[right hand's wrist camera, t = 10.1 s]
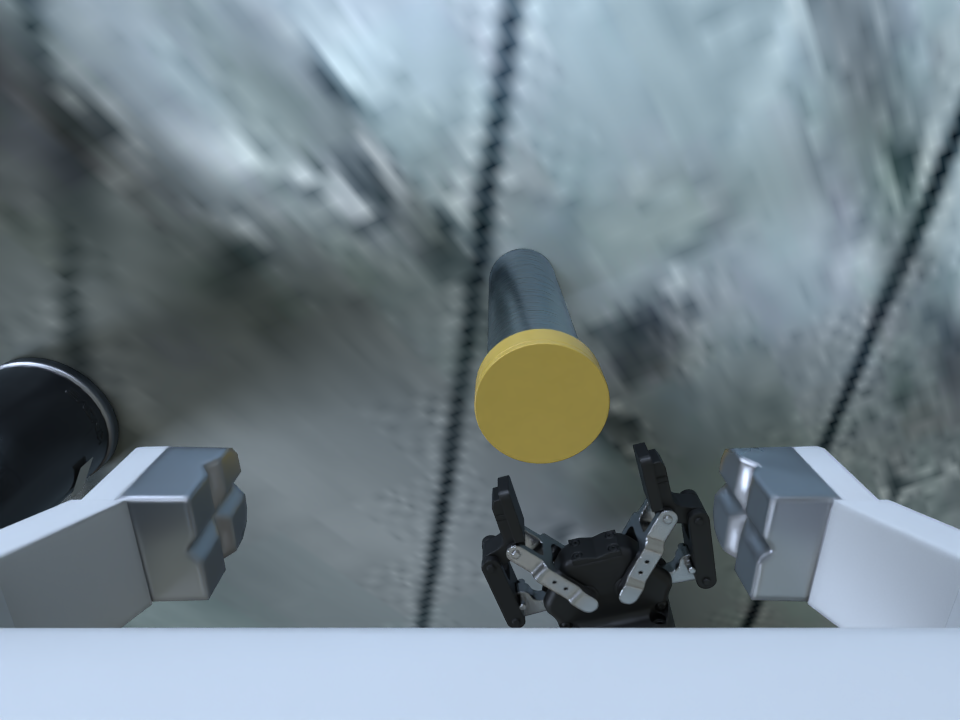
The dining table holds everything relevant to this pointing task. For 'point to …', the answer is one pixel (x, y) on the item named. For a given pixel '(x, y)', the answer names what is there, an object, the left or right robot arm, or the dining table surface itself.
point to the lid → (541, 396)
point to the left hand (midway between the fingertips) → (570, 467)
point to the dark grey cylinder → (524, 297)
